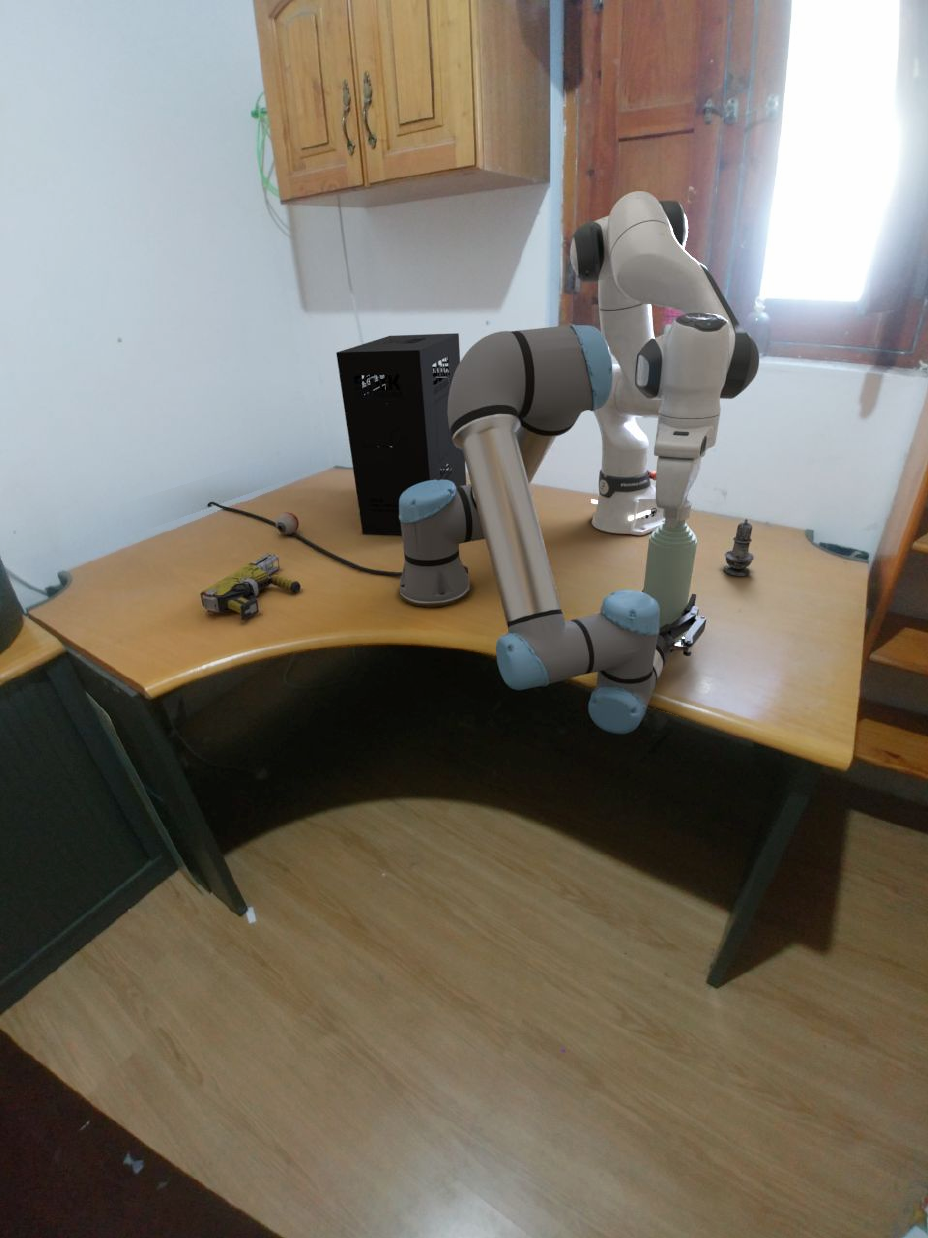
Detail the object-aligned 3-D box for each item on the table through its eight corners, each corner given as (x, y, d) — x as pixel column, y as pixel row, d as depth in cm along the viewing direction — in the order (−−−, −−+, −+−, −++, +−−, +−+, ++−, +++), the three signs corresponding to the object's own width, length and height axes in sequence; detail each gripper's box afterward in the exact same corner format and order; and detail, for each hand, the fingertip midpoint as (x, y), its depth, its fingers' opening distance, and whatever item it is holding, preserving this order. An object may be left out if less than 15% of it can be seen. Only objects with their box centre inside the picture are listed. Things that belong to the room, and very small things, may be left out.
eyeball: (273, 537, 164) (268, 516, 161) (287, 528, 169) (282, 508, 166) (291, 539, 161) (286, 518, 158) (305, 530, 166) (301, 510, 163)
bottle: (682, 628, 113) (702, 500, 101) (681, 650, 107) (702, 516, 94) (639, 623, 115) (653, 497, 103) (636, 644, 109) (651, 513, 96)
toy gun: (320, 562, 140) (265, 550, 144) (256, 606, 120) (194, 592, 124) (321, 580, 142) (267, 568, 146) (259, 627, 122) (198, 612, 126)
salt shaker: (753, 577, 129) (764, 524, 123) (724, 576, 130) (734, 523, 124) (748, 565, 134) (758, 514, 128) (720, 564, 135) (729, 513, 129)
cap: (686, 522, 97) (688, 508, 96) (659, 518, 99) (661, 505, 98) (692, 513, 100) (694, 500, 99) (666, 510, 102) (667, 497, 101)
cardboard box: (434, 536, 158) (419, 349, 136) (362, 533, 163) (336, 352, 140) (466, 490, 190) (458, 333, 167) (405, 489, 194) (389, 335, 172)
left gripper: (575, 664, 101) (613, 604, 118) (705, 695, 92) (725, 624, 109) (577, 626, 97) (615, 569, 114) (712, 654, 88) (732, 587, 105)
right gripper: (676, 416, 102) (667, 495, 109) (652, 447, 86) (642, 537, 93) (716, 418, 99) (704, 499, 106) (698, 450, 84) (685, 542, 90)
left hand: (669, 596), depth 112 cm, fingers closed on bottle, 8 cm apart
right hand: (675, 517), depth 99 cm, fingers open, 7 cm apart
